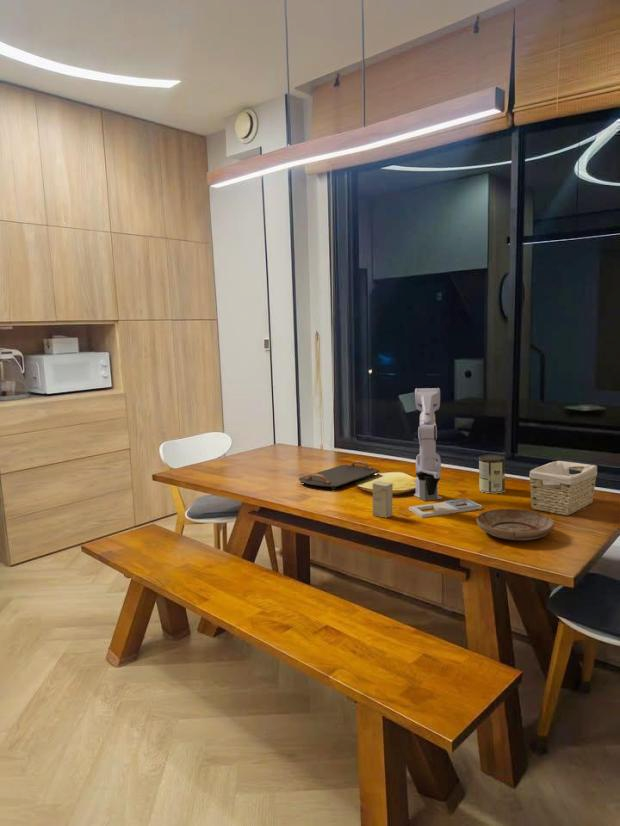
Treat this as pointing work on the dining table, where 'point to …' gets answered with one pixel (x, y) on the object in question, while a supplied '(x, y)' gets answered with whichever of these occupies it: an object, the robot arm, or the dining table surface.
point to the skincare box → (382, 499)
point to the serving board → (339, 475)
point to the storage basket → (562, 487)
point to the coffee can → (492, 474)
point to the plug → (426, 491)
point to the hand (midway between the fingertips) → (428, 493)
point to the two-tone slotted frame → (445, 507)
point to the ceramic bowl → (515, 524)
